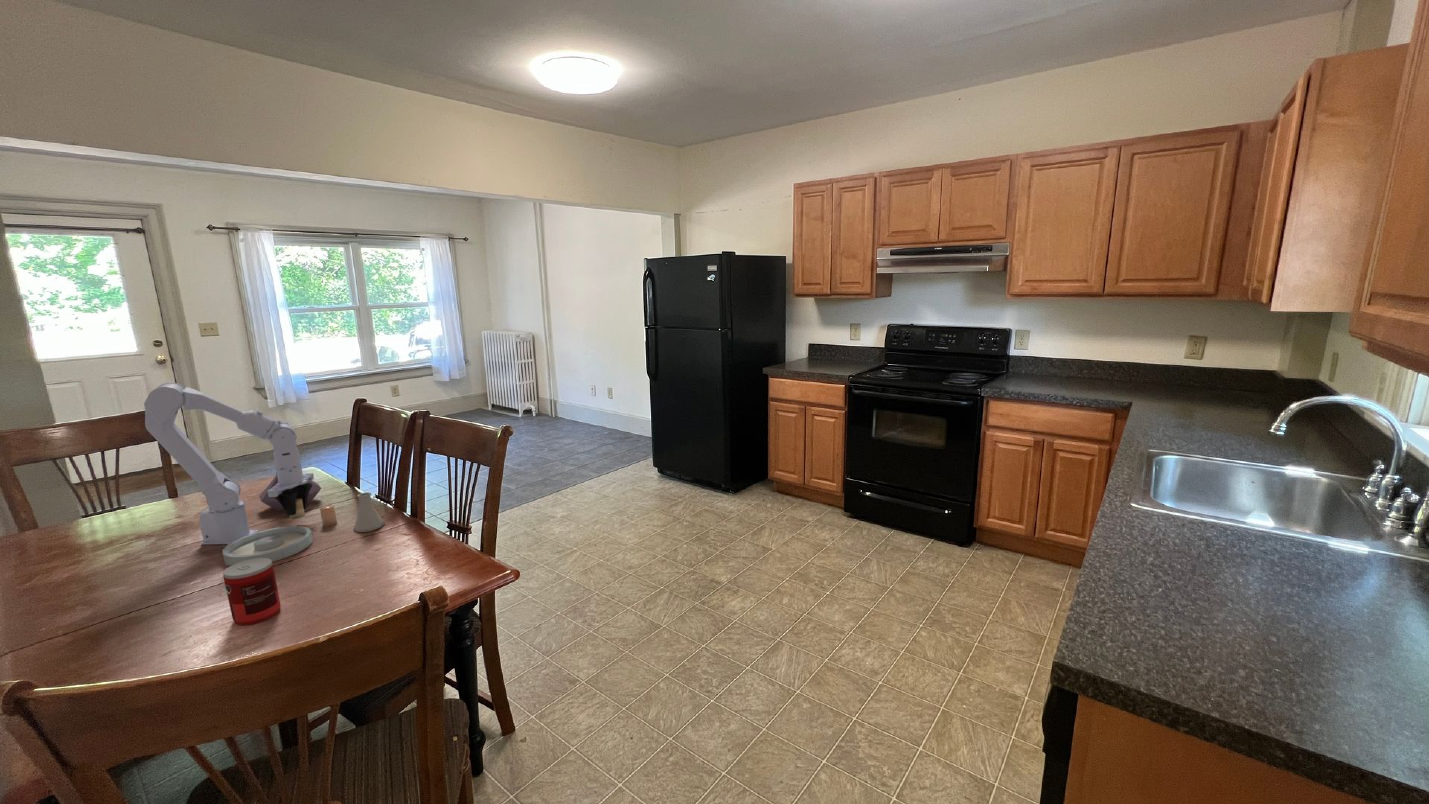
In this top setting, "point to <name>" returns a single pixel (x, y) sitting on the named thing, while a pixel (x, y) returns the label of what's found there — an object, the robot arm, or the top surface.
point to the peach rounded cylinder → (328, 515)
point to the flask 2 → (367, 515)
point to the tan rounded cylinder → (298, 509)
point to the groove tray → (268, 544)
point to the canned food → (252, 591)
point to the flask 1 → (275, 503)
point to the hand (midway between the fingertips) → (296, 511)
